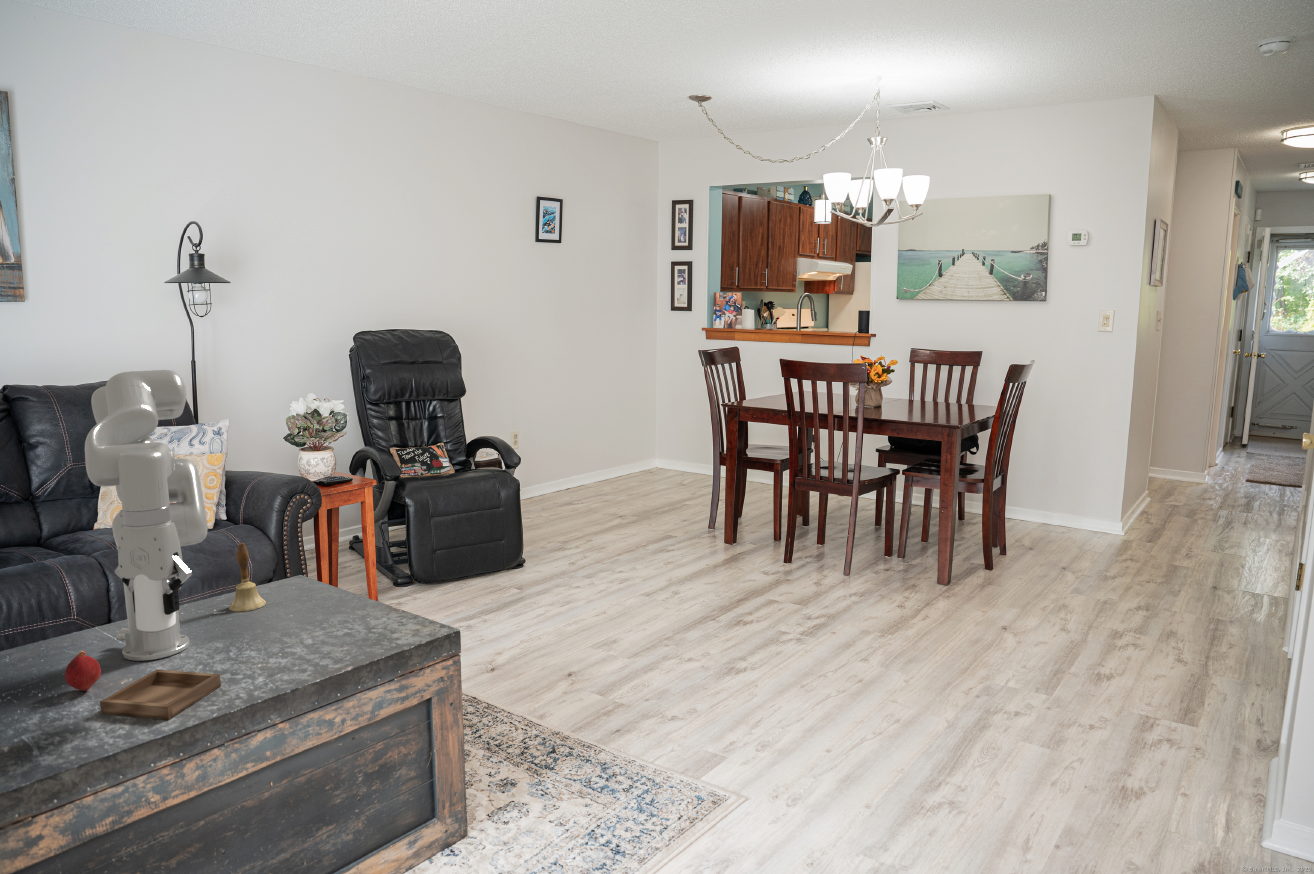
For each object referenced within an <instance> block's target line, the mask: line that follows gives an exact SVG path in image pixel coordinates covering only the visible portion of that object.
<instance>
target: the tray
mask: <svg viewBox="0 0 1314 874" xmlns="http://www.w3.org/2000/svg"><path fill="white" fill-rule="evenodd" d="M221 687H222V684H221V674H220V673H219V674H218V673H206V672H195V671H183V670H181V671H180V670H167V669H155V670H153V671H150V673H148V674H146V675H144V676H143V677H140V678H139V679H137V680H136V681H133V682H131V683H130V684H129V685H126V686H124V687H122V688H121V689H119V690H117V691H116V692H113V693H112V694H110V695H108V696H107V697H105V698H103V699H102V700H100V701H99V704H100V706H99V707H100V714H101V715H104V716H105V715H106V716H107V715H109V716H118V717H131V718H139V719H140V718H142V719H154V720H164V721H169V720H171V719H173V718H175V717H176V716H178V715H180V714H181V713H182V712H184V711H185V710H187V709H188V708H190V707H191V706H193V705H195V704H197V702H199V701H201V700H202V699H203V698H205V697H207V696H209V695H210V694H212V693H213V692H214V691H216V690H217V689H219V688H221Z"/></svg>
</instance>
